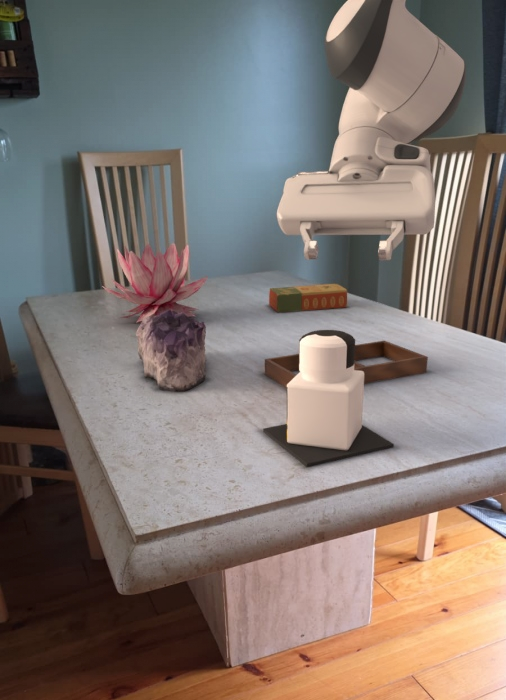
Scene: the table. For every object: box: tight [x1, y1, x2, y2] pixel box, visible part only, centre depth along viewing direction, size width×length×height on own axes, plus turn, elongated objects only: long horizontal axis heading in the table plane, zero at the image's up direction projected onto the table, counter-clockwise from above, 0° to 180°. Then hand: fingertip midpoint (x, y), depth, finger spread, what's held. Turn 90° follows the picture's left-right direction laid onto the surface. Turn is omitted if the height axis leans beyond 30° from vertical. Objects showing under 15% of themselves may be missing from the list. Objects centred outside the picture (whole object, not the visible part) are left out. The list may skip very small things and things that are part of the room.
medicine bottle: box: [286, 329, 365, 451], centre depth 69 cm, size 7×7×12 cm
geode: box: [135, 310, 207, 393], centre depth 96 cm, size 20×12×10 cm, turn 14°
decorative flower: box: [101, 242, 209, 324], centre depth 130 cm, size 21×21×15 cm
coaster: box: [262, 423, 395, 468], centre depth 72 cm, size 11×11×1 cm
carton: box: [268, 283, 348, 314], centre depth 139 cm, size 8×16×4 cm, turn 100°
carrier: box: [264, 340, 429, 389], centre depth 94 cm, size 22×11×2 cm, turn 114°
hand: (346, 257), depth 78 cm, fingers open, 8 cm apart
